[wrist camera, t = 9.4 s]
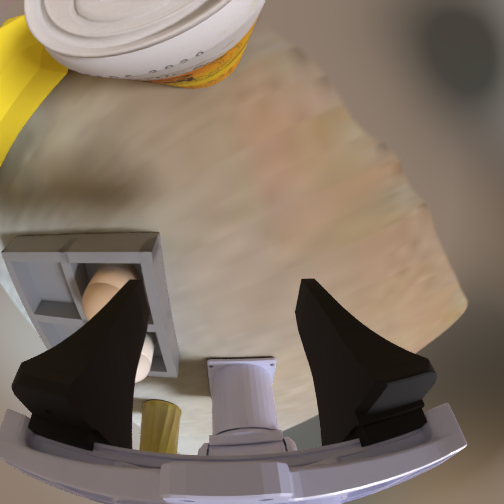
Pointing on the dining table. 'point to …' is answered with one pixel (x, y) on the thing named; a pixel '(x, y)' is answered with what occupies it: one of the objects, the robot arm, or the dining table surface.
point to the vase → (160, 427)
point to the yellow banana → (22, 78)
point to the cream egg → (146, 357)
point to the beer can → (146, 37)
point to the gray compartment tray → (78, 277)
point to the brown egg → (106, 285)
